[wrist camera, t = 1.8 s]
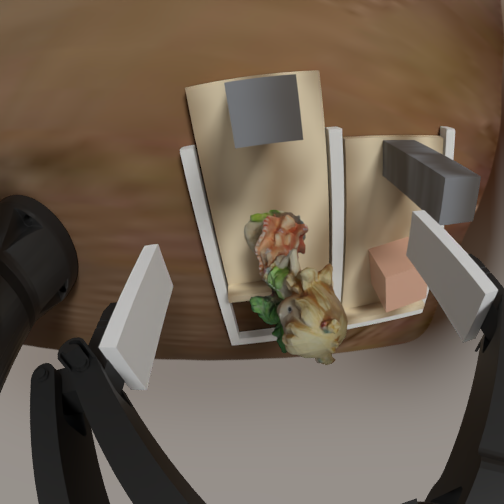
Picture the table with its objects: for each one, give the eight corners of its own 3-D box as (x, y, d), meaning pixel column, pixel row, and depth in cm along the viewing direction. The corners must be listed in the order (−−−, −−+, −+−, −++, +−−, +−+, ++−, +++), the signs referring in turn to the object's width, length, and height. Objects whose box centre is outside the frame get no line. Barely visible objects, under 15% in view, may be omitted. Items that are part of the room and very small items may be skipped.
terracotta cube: (371, 283, 33) (386, 312, 29) (367, 249, 30) (385, 277, 26) (408, 270, 32) (426, 298, 28) (407, 236, 29) (429, 262, 25)
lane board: (231, 338, 39) (231, 345, 38) (182, 147, 25) (179, 150, 24) (418, 307, 37) (421, 312, 36) (448, 126, 24) (455, 129, 23)
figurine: (259, 187, 27) (278, 293, 14) (328, 215, 29) (388, 323, 16) (224, 263, 32) (219, 386, 19) (288, 283, 33) (313, 400, 21)
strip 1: (231, 290, 34) (229, 370, 25) (186, 87, 22) (149, 94, 13) (326, 277, 33) (353, 352, 24) (316, 70, 21) (366, 68, 12)
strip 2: (339, 313, 37) (362, 383, 27) (341, 137, 25) (397, 176, 15) (413, 298, 36) (447, 359, 27) (438, 135, 24) (511, 173, 15)
